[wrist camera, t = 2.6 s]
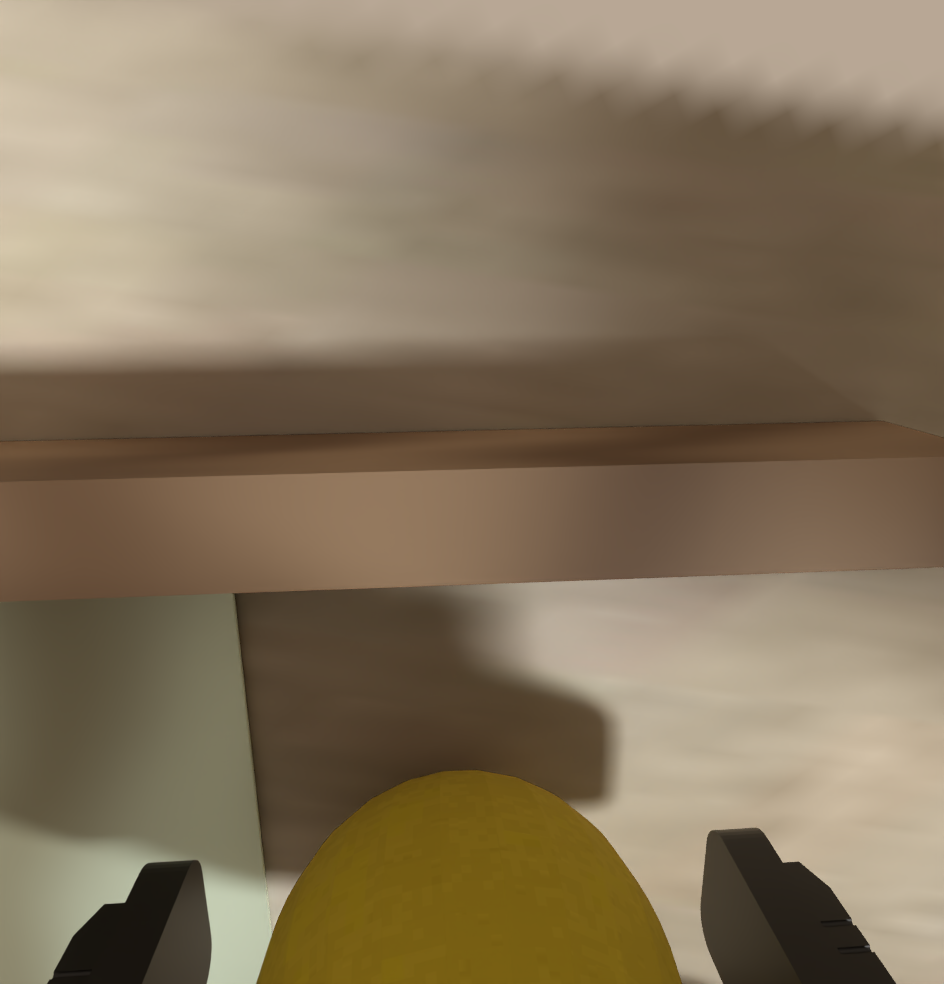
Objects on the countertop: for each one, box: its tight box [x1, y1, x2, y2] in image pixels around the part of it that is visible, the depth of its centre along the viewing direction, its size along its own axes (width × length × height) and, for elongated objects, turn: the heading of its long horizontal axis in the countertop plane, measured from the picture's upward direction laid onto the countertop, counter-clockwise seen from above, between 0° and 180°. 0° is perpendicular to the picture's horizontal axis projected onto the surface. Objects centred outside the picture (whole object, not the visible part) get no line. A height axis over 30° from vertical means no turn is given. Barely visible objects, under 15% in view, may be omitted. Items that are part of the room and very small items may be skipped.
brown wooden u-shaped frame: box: [0, 421, 944, 984], centre depth 11 cm, size 22×14×3 cm, turn 91°
